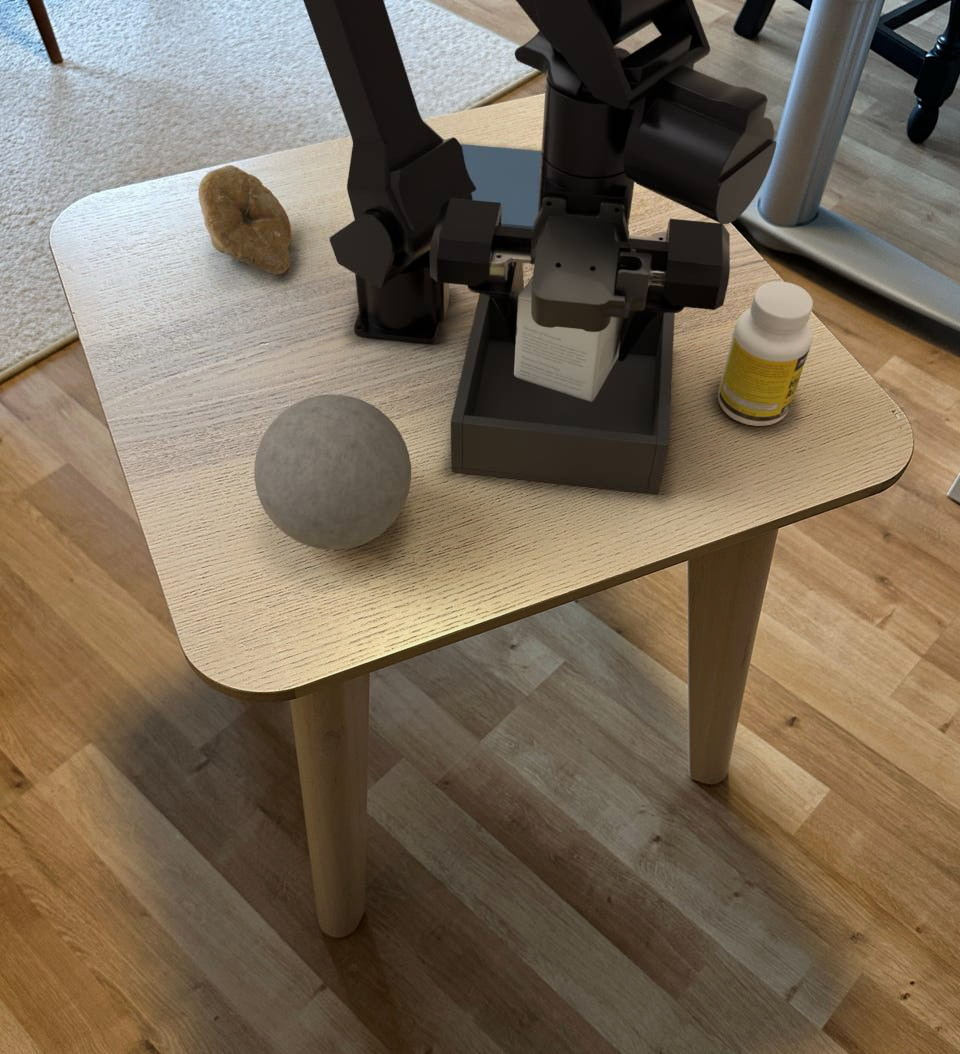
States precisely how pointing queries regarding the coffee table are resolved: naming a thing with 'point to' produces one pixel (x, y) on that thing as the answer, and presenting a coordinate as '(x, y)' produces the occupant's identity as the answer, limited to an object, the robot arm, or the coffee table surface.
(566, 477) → the bin
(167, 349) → the coffee table surface
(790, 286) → the supplement bottle
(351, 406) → the decorative ball
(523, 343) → the product carton
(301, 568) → the coffee table surface
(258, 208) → the fossil
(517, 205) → the mat
